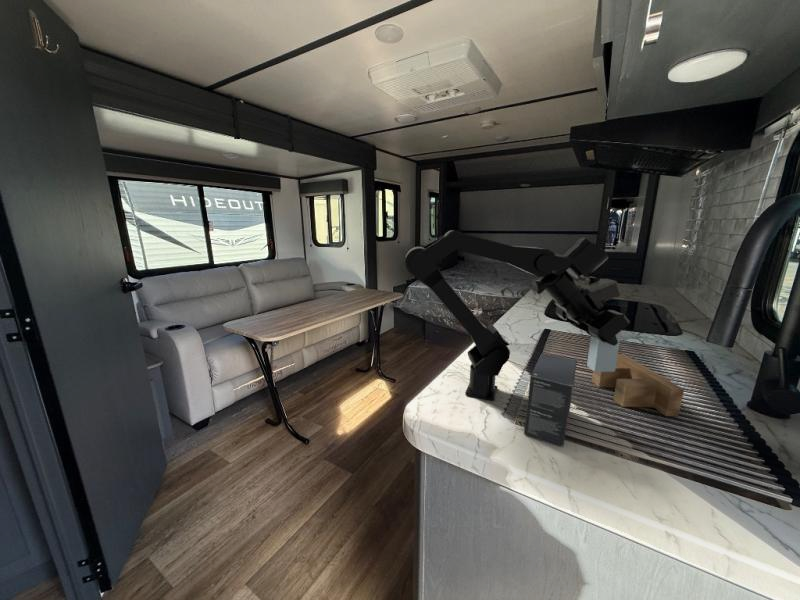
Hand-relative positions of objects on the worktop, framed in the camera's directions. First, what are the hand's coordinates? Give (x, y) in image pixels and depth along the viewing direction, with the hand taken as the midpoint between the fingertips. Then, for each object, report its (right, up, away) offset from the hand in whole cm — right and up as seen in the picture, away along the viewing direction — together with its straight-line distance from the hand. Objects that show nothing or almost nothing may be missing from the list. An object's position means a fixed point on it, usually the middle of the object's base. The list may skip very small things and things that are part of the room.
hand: (611, 341), depth 69 cm
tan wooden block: (+5, -12, +3) cm, 14 cm away
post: (-1, -6, +2) cm, 7 cm away
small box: (-18, -15, -8) cm, 25 cm away
